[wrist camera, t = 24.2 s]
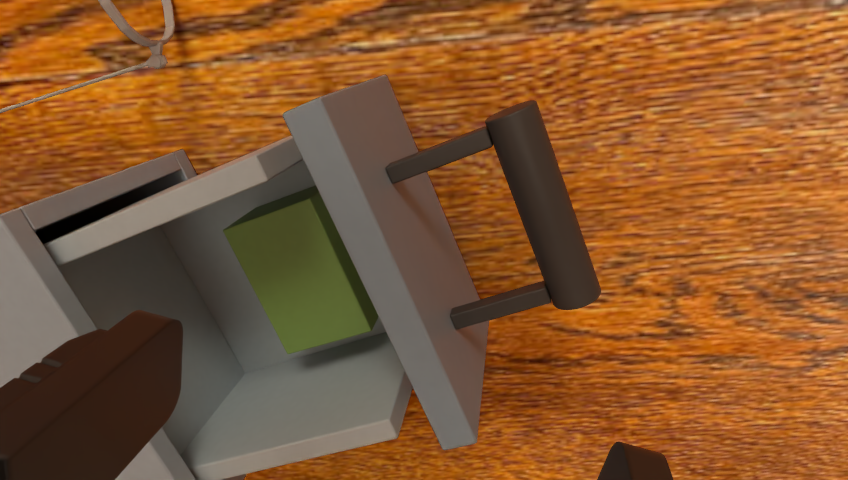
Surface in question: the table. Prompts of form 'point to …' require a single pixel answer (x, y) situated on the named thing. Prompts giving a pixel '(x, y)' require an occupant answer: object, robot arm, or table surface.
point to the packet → (301, 271)
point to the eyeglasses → (155, 46)
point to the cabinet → (52, 295)
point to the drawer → (374, 261)
